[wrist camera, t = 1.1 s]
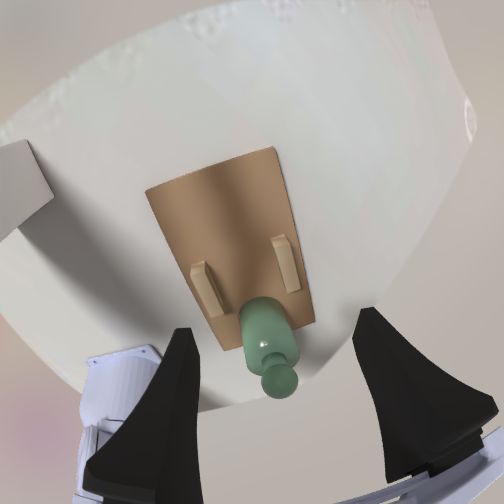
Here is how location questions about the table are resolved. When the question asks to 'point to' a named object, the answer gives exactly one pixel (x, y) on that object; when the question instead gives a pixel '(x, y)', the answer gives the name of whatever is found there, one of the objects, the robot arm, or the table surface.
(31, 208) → the milk
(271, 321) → the bottle
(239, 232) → the rest board
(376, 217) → the table surface
